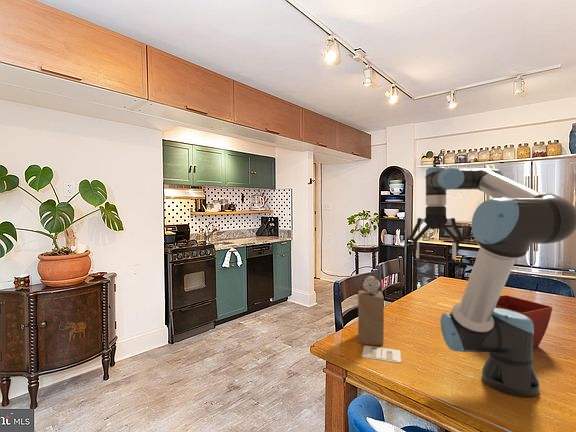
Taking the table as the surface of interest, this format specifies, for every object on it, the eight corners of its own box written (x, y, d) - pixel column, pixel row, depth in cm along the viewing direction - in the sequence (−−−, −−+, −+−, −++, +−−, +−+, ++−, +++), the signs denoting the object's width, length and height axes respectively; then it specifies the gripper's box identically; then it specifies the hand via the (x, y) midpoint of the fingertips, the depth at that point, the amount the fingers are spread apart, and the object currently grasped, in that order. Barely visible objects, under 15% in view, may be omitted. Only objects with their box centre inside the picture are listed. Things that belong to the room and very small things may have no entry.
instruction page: (400, 362, 114) (400, 362, 114) (361, 357, 119) (361, 356, 119) (400, 350, 124) (400, 350, 124) (364, 345, 128) (364, 345, 128)
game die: (367, 303, 133) (354, 285, 132) (370, 291, 140) (357, 274, 139) (386, 295, 128) (372, 277, 127) (387, 284, 135) (374, 266, 134)
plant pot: (475, 337, 137) (476, 299, 136) (505, 330, 144) (506, 294, 143) (521, 356, 119) (522, 313, 118) (553, 348, 126) (554, 307, 125)
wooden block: (383, 345, 128) (383, 297, 128) (358, 343, 130) (358, 296, 130) (381, 336, 138) (381, 291, 137) (358, 334, 140) (358, 290, 139)
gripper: (467, 206, 126) (467, 258, 126) (402, 206, 133) (402, 256, 133) (473, 205, 119) (473, 261, 119) (403, 206, 125) (403, 258, 126)
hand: (435, 258), depth 126 cm, fingers open, 13 cm apart
